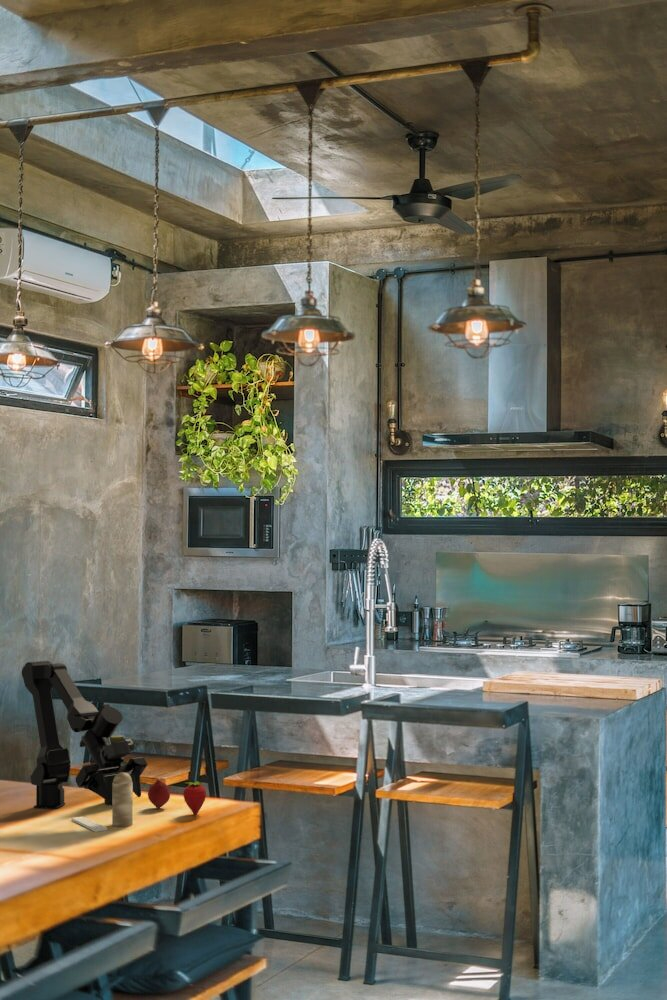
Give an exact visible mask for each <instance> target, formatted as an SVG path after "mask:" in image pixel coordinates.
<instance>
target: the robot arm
mask: <svg viewBox="0 0 667 1000" xmlns="http://www.w3.org/2000/svg"><path fill="white" fill-rule="evenodd" d="M69 674H70V673H68V669H67V665H66V664H65V663H59V662H57V663H53V662H52V663H51V661H49V660H40V661H39V660H38V661H27V662H26V663H25V664H24V666H23V667H22V669H21V676H22V680H23V682H24V686H25V688H26V689H27V690H28V692H29V693H30V694H31V695H32V700H33V706H34V712H35V717H36V718H35V719H36V725H37V731H38V738H39V744H40V749H39V752H38V754H37V757H36V767H35V768H34V769H33V772H32V773H31V775H30V778H29V779H30V782H31V785H32V786H33V785H34V786H36V791H35V792H36V794H35V797H36V798H35V799H36V804H35V805H33V809H51V810H52V809H54V810H55V809H56V810H57V809H58V808H60V807H62V806H64V805H66V802H65V788H64V787H63V786H64V784H63V783H68V780H69V776H70V772H71V763H72V762H71V759H70V754H69V751H70V750H68V748H66V747H63V746H62V745H61V744H60V739H59V734H58V733H59V732H58V727H57V721H56V715H55V709H54V703H53V695H52V689H53V688H54V690H55V691H56V693H57V695H58V697H59V698H60V700H61V701H62V703H63V705H64V707H65V709H66V710H67V715H66V719H67V721H68V724H69V726H70V729H71V730H72V731H73V732H74V733H84V735H82V736H81V740H80V742H79V747H80V748H85V747H86V749H87V751H88V753H89V756H90V759H89V762H90V764H86V765H85V764H84V765H82V767H81V768H80V770H79V772H78V773H77V775H76V776H75V783H76V784H77V787H78V788H84V789H85V790H89V791H91V792H93V793H94V794H97V795H98V796H99V797H101V798H102V799H105V800H107V801H108V802H111V801H112V797H111V794H110V792H109V790H108V788H107V786H106V784H105V782H104V778H103V776H111V775H117V774H118V773H121V772H125V773H127V774H129V775H130V777H131V779H132V782H133V793H134V794H135V795H136V797H138V798H140V797H141V796H142V790H141V789H142V788H141V779H140V778H141V775H142V774H143V772H144V771H145V769H147V766H148V765H149V764H148V761H147V760H146V758H145V757H143V756H140V757H138V756H137V757H133V758H132V757H130V759H129V760H128V761H127V762H128V763H127V765H122V766H121V762H123V761H124V760H125V757H126V756H127V755H131V753H132V752H133V751H134V750H135V745H134V744H135V743H134V742H133V740H132V738H126V739H124V740H123V741H122V742H115V743H112V744H111V741H110V737H111V736H114V735H115V731H116V730H117V729H118V728H119V726H120V724H121V722H123V714H122V712H120V711H119V710H118V709H116V708H115V707H112V706H111V705H110V704H109V703H105V704H101V706H100V708H99V710H98V709H97V708H96V706H95V705H94V704H93V703H91V702H89V701H88V700H86V699H85V698H84V697H83V695H82V694H81V692H80V691H79V690H80V689H78V688H77V685H76V684H75V682H74V681H73V680H72V677H71V676H70V675H69ZM108 738H109V739H108Z"/></svg>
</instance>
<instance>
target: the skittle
mask: <svg viewBox="0 0 667 1000" xmlns="http://www.w3.org/2000/svg"><path fill="white" fill-rule="evenodd" d="M133 793H134V792H133V782H132V779H131V777H130V775H129V774H127V773H125V772H121V773H118V774H117V775H116V776H115V777H114V780H113V783H112V805H111V806H112V812H111V813H112V816H111V817H112V821H111V822H112V823H111V825H112V827H115V828H127V827H128V828H129V827H131V826H133V823H134V822H133V818H134V817H133V816H134V813H133V812H134V811H133V807H134V806H133V805H134V804H133V803H134V802H133V801H134V800H133V797H134V795H133Z"/></svg>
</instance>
